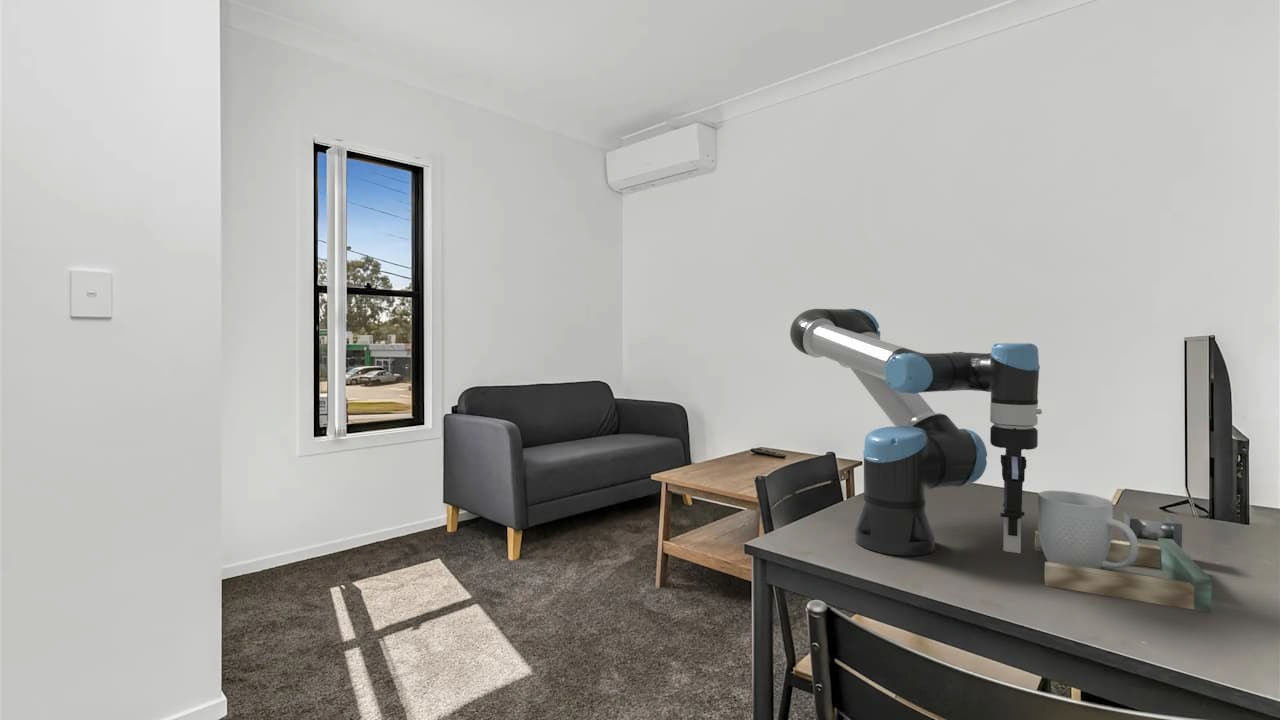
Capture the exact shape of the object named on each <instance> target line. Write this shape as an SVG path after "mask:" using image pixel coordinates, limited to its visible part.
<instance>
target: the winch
mask: <svg viewBox="0 0 1280 720" xmlns="http://www.w3.org/2000/svg"><path fill="white" fill-rule="evenodd" d="M1123 514H1124V515H1123V523H1124V524H1126V525H1127V526H1128V527H1130V528H1131V529H1132V531H1133V532H1134V534H1135V536H1136V538H1137V541H1138V540H1145V541H1153V542H1158V538H1165V539H1172V540H1173V541H1174V542H1175V543H1176V544H1177V545H1178V546H1179V547H1180V548H1181V549H1182V548H1183V523H1181V521H1180V520H1178V519H1177V518H1176V517H1175V516H1167V515H1166V516H1165V522H1164V521H1163V522H1162V521H1154V520H1145V519H1138V518H1137V516H1136V515H1135V514H1134V513H1133V512H1131V511H1124V513H1123ZM1123 541H1124V542H1129V539H1128V537H1127V535H1126V534H1125V532H1124V531H1123ZM1139 543H1140V542H1139ZM1140 544H1143V543H1142V542H1141V543H1140ZM1147 544H1148V543H1147ZM1148 545H1151V544H1148ZM1155 545H1156V544H1155ZM1156 546H1158V544H1157V545H1156ZM1182 550H1183V549H1182Z"/></svg>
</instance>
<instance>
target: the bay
mask: <svg viewBox="0 0 1280 720" xmlns="http://www.w3.org/2000/svg"><path fill="white" fill-rule="evenodd" d="M1034 532H1035V533H1034V550H1035V551H1036V552H1042V553H1044V552H1043V549H1042V546H1041V543H1040V539H1039V532H1038V529H1037V530H1034ZM1157 545H1158V546H1156V544H1150V545H1148V543H1142V544H1140V542H1138V547H1139V548H1138V555H1137V558H1136V559H1135V561H1134V562H1133V563H1132V564H1131V565H1136V566H1143V567H1149V568H1157V569H1160V570H1161V571H1162V572H1163V573H1164V575H1165V576H1166V577H1167V578H1160V577H1154V576H1149V575H1147V576H1146V575H1140V574H1133V573H1127V572H1121V571H1113V570H1112V571H1111V570H1106V569H1101V568H1100V569H1093V568H1087V567H1080V566H1073V565H1066V564H1059V563H1052V562H1048V561H1044V581H1043V582H1044V585H1045V587H1051V588H1058V589H1065V590H1071V591H1075V592H1081V593H1082V592H1083V593H1089V594H1095V595H1100V596H1101V595H1102V596H1106V597H1107V596H1108V597H1112V598H1113V597H1114V598H1119V599H1126V600H1132V601H1139V602H1143V603H1144V602H1145V603H1151V604H1157V605H1162V606H1169V607H1176V608H1181V609H1188V610H1194V611H1198V612H1199V611H1201V612H1206V613H1211V611H1212V588H1213V587H1212V586H1213V585H1212V583H1213V581H1212V578H1210V576H1209V575H1207V573H1205V572H1204V571H1203V569H1202V568H1201V567H1200V566H1199V565H1198V564H1197V563H1196V562H1195V561H1194V560H1193V559H1192V558H1191V557H1190V556H1189V554H1187V552H1185V551H1184V550H1183V549H1181V548H1180V547H1179V546H1178V545H1177V544H1176V543H1175V542H1174V541H1173V540H1172V539H1165V538H1158V541H1157ZM1129 553H1130V542H1124V540H1115V539H1112V540H1111V544H1110V549H1109V552H1108V555H1107V558H1106V561H1109V562H1114V563H1118V562H1122V561H1124V560H1126V559H1127V558H1128V556H1129Z"/></svg>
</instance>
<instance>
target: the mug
mask: <svg viewBox="0 0 1280 720" xmlns="http://www.w3.org/2000/svg"><path fill="white" fill-rule="evenodd" d="M1113 506H1114V503H1113V501H1111V500H1110V499H1108V498H1105V497H1102V496H1098V495H1095V494H1089V493H1085V492H1078V491H1070V490H1069V491H1068V490H1044V491H1040V492H1039V493H1038V495H1037V531H1038V532H1039V539H1040V543H1041V546H1042V549H1043V552H1042V553H1043V554H1044V556H1045V559H1046V560H1047V562H1052V563H1059V564H1066V565H1073V566H1080V567H1087V568H1093V569H1100V570H1101V568H1111V569H1122V568H1125V567H1129V566H1130V565H1133V564H1132V563H1133V562H1134V561H1135V559H1136V558H1137V555H1138V548H1139V547H1138V543H1139V542H1138V540H1137V538H1136V536H1135V534H1134V532H1133V531H1132V529H1131V528H1130V527H1128V526H1127V525H1126V524H1124V522H1122V521H1120V520H1117V519H1114V512H1113V511H1114V507H1113ZM1114 527H1116V528H1117V529H1120V530H1122V531H1123V533H1124V532H1125V534H1126V535H1127V537H1128V539H1129V542H1130V553H1129V556H1128V558H1127V559H1126V560H1124V561H1122V562H1113V561H1106V558H1107V555H1108V552H1109V549H1110V544H1111V540H1113V538H1112V537H1113V528H1114Z"/></svg>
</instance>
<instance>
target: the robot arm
mask: <svg viewBox="0 0 1280 720" xmlns="http://www.w3.org/2000/svg"><path fill="white" fill-rule="evenodd" d="M879 328H880V325H879V321H877V318H875V316H874V315H872V314H871V312H869V311H866V310H865V309H864V310H862V309H859V308H858V309H857V308H842V309H841V308H811V309H808V310H804V311H803V312H801V313H800V314H797V316H796V318H794V320H793V322H792V324H791V326H790V331H789V336H790V340H791V343H792V345H793V346H794V347H795V348H796V350H798V351H799V352H801V353H803V354H804V355H808V356H811V357H812V358H813V357H814V358H823V357H825V358H827V359H829V360H832V361H835V362H838V364H839V365H840V366H841V367H844V368H847V369H850V370H851V371H852V372H853V374H854V375H855V376H856V377H857V379H858V380H859V381H860V383H861V384H862V385H863V387H865V389H866V390H867V392H868V393H869V395H870V396H871V397H872V398H873V399H874V401H875V402H876V404H878V406H879V407H880V409H881V410H882V412H883V413H884V414H885V415H886V417H887V418H888V419H889V421H891V423H892V424H893V426H885V427H880V428H877V429H876V428H875V429H874V430H871V431H870V432H868V433H867V435H866V436H865V438H864V448H863V452H862V454H863V505H862V507H861V510H860V513H859V515H858V518H857V520H856V523H855V527H854V542H856V543H857V544H858V545H859V546H861V547H862V548H865V549H868V550H871V551H874V552H877V553H881V554H887V555H894V556H905V557H906V556H909V557H912V556H915V557H917V556H924V555H927V554H928V555H929V554H930V553H932V552H934V551H935V549H936V537H935V535H934V531H933V527H932V525H931V521H930V518H929V516H928V513H927V509H926V508H927V507H926V500H927V499H926V498H927V497H926V495H927V494H926V493H927V490H934V489H935V490H936V489H942V488H949V487H955V488H959V487H963V486H965V485H970V484H973V483H975V482H977V481H978V480H979V479H980V478H981V477H982V476H983V474H984V473H985V471H986V469H987V465H988V461H987V458H988V452H987V447H986V445H985V442H984V441H983V439H982V437H981V436H980V435H979V434H977V433H976V432H975V431H973V430H971V429H966V428H958V426H957V425H956V424H955V423H954V422H953V421H952V420H951V418H950V417H949V416H948V415H947V414H945V413H939V412H937V413H936V412H935V411H934V410H933V409H932V408H931V406H930V404H928V403H927V401H926V400H925V399H924V398H923V396H921V394H920V393H933V392H935V393H936V392H954V391H974V392H975V391H976V392H987V393H990V405H989V406H990V411H989V412H990V416H989V421H990V424H993V425H992V426H991V427H990V433H989V434H990V436H989V437H990V438H989V439H990V440H989V441H990V445H991V446H993V447H996V448H1000V449H1005V454H1000V464H1001V476H1002V480H1003V504H1002V506H1003V512H999V513H1000V517H1001V518H1003V539H1002V540H1003V544H1002V545H1003V546H1002V547H1003V549H1002V550H1003V552H1009V553H1016V554H1021V552H1022V551H1021V549H1022V548H1021V547H1022V546H1021V545H1022V543H1021V542H1022V541H1021V540H1022V517H1024V516H1025V511H1022V510H1023V509H1022V506H1023V484H1024V482H1025V474H1026V473H1025V471H1026V469H1027V458H1026V456H1023V455H1022V451H1023V450H1027V451H1028V450H1029V451H1030V450H1035V449H1037V448H1038V443H1039V442H1038V439H1039V438H1038V434H1039V430H1038V429H1037V428H1036V426H1037V425H1039V423H1038V415H1041V414H1043V410H1042V409H1041V408H1038V407H1039V405H1038V404H1039V400H1038V399H1039V398H1038V395H1039V377H1040V369H1041V368H1040V367H1041V366H1040V361H1039V357H1040V356H1039V348H1038V346H1037V345H1036V344H1034V343H1025V342H1023V343H1020V342H1019V343H1018V342H1017V343H1015V342H1013V343H1010V342H1008V343H1006V342H1002V343H994V344H993V345H991V351H990V352H989V353H982V352H981V353H980V352H966V351H964V352H963V351H952V352H944V353H943V352H942V353H941V352H938V353H934V352H933V353H931V352H930V353H926V352H925V353H924V352H919V351H916V350H912V349H909V348H906V347H903V346H900V345H897V344H893V343H891V342H887V341H883V340H881V331H880V330H879Z"/></svg>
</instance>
